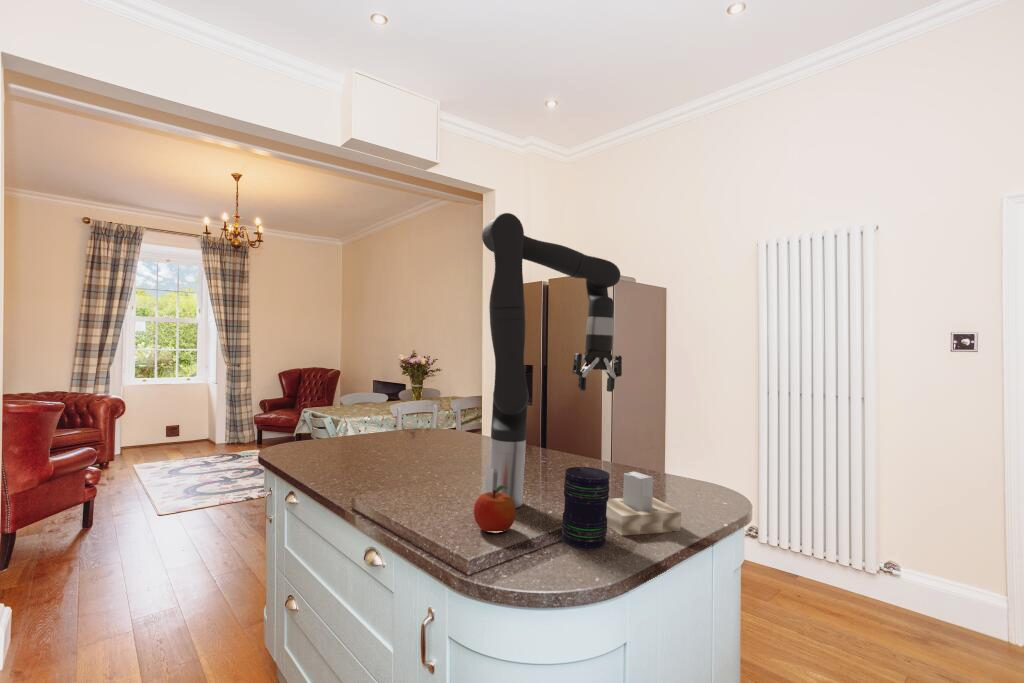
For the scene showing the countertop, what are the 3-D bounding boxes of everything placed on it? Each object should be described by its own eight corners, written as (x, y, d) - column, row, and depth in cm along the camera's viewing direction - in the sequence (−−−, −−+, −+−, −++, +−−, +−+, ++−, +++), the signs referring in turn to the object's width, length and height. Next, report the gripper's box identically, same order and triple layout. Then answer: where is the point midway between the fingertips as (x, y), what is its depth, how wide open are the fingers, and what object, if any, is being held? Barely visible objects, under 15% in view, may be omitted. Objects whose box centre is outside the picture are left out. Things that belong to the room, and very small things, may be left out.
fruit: (466, 525, 116) (468, 481, 116) (504, 521, 120) (506, 479, 120) (481, 540, 107) (483, 494, 107) (521, 536, 111) (524, 490, 111)
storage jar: (615, 545, 109) (619, 476, 109) (581, 553, 104) (585, 480, 104) (585, 529, 118) (589, 465, 118) (551, 536, 112) (555, 469, 112)
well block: (621, 535, 115) (622, 515, 115) (596, 517, 126) (597, 499, 126) (680, 531, 120) (681, 512, 120) (651, 513, 131) (652, 496, 131)
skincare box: (652, 526, 122) (655, 476, 122) (640, 530, 119) (643, 478, 119) (632, 518, 127) (635, 470, 127) (620, 521, 124) (623, 472, 124)
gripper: (582, 332, 136) (579, 392, 136) (628, 335, 141) (625, 393, 141) (570, 332, 144) (567, 389, 144) (615, 335, 148) (611, 390, 148)
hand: (596, 391), depth 142 cm, fingers open, 8 cm apart
